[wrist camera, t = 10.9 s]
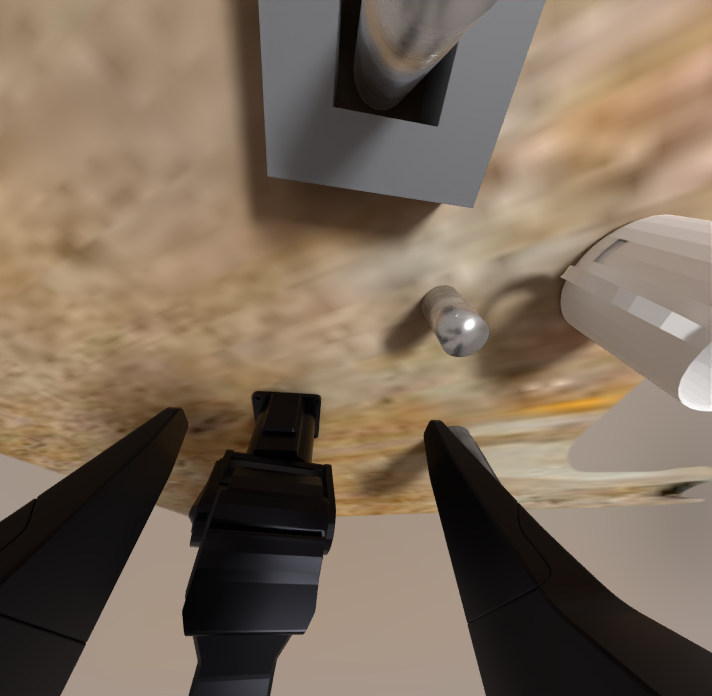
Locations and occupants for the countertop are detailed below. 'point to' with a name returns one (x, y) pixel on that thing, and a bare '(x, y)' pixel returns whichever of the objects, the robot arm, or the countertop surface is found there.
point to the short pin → (454, 321)
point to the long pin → (406, 43)
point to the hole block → (383, 134)
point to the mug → (650, 302)
